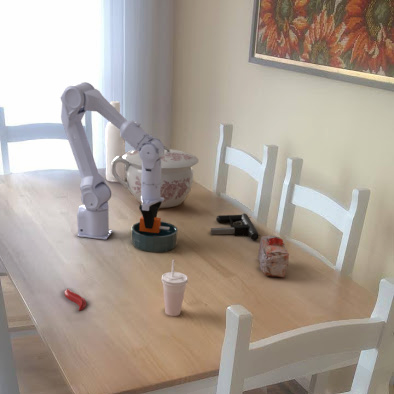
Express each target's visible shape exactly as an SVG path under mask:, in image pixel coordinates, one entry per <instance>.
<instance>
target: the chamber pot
mask: <svg viewBox="0 0 394 394" xmlns="http://www.w3.org/2000/svg"><path fill="white" fill-rule="evenodd" d="M163 146H164V153H163V155H162V157H161V189H160V197H164V201H162V203H161V205H160V207H159V209H169V208H174V207H177V206H180V205H181V204H182V203H183V202H184V201H186V199H187V197H188V196H189V194H190V193H191V191H192V186H193V184H194V174H195V173H194V170H193V166H195V165H197V164H198V163H199V158H198V156H196V155H194V154H192V153H189V152H186V151H184V150H180V149H175V148H169V147H167V146H165V145H163ZM159 159H160V158H159ZM118 162H122V163H124V164H125V173H126V180H127V181H126V180H125V181H123V180H122V179H121V178H120V177H119V176H118V175H117V173H116V163H118ZM111 171H112V174H113V176H114V177H115V178H116V180H117V181H118V182H117V183H119V184H121V185H122V186H124V188H125V189H127V191H128V192H129V193H130V194H131V195H132V196H133V197H134V199H135V201H137V202H138V203H140V204H142V201H141V184H142V160H141V158H140V156H139V152H138V151H136V150H135V149H131V150H128V151H125V154H124V155H123V158H122V157H121V156H118V157H116V158H115V159H114V160H113V162H112V167H111Z"/></svg>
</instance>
